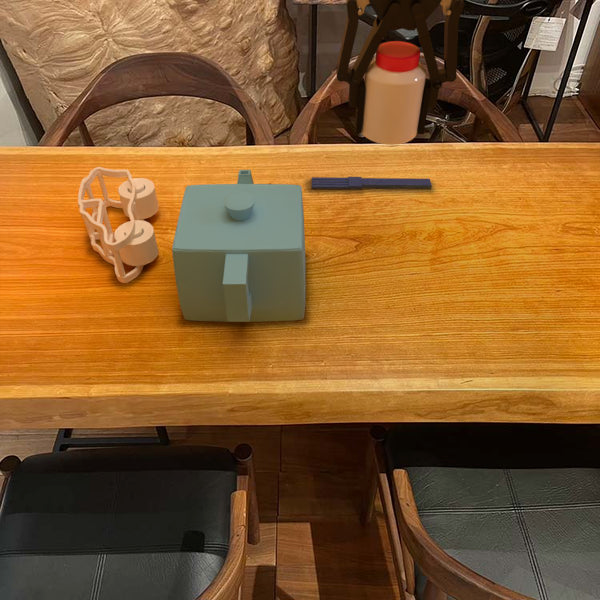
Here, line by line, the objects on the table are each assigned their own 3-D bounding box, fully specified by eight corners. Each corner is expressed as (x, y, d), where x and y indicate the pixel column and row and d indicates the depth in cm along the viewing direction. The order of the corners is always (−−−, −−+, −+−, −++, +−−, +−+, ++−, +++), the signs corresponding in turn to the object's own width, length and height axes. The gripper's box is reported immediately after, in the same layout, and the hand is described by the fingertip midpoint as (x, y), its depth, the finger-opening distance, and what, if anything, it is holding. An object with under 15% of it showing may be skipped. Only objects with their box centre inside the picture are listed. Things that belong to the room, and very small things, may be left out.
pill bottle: (350, 134, 80) (356, 54, 72) (376, 110, 84) (384, 32, 76) (402, 151, 77) (414, 69, 69) (426, 125, 81) (439, 45, 73)
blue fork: (429, 180, 103) (429, 177, 103) (431, 190, 102) (431, 186, 101) (311, 180, 104) (311, 176, 103) (311, 189, 102) (311, 185, 101)
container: (177, 347, 77) (156, 261, 66) (199, 227, 95) (185, 143, 83) (306, 347, 77) (307, 260, 66) (304, 227, 95) (305, 142, 84)
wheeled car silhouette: (160, 279, 86) (151, 241, 81) (83, 287, 85) (69, 249, 80) (160, 198, 100) (152, 161, 95) (94, 205, 99) (82, 167, 93)
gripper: (498, -70, 66) (459, 115, 83) (317, -71, 67) (313, 114, 83) (514, -50, 61) (469, 143, 78) (317, -50, 61) (313, 142, 78)
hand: (388, 128), depth 80 cm, fingers closed on pill bottle, 8 cm apart
